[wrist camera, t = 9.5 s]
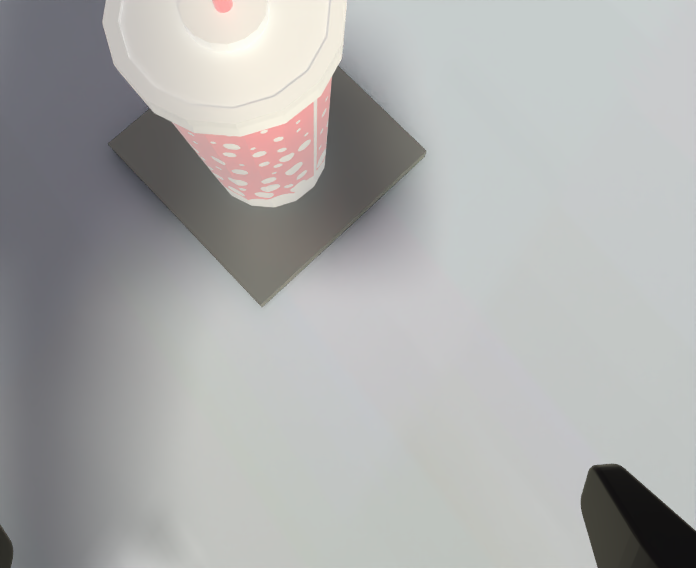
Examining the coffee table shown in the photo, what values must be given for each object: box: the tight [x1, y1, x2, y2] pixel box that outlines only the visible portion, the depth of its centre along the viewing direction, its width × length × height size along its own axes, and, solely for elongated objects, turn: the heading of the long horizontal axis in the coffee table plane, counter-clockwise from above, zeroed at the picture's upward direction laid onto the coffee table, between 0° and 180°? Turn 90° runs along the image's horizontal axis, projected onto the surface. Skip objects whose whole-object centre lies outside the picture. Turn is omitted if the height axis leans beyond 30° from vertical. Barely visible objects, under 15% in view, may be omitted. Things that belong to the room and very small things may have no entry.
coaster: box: [108, 66, 426, 307], centre depth 24 cm, size 9×9×1 cm
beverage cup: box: [102, 0, 347, 207], centre depth 17 cm, size 6×6×14 cm
